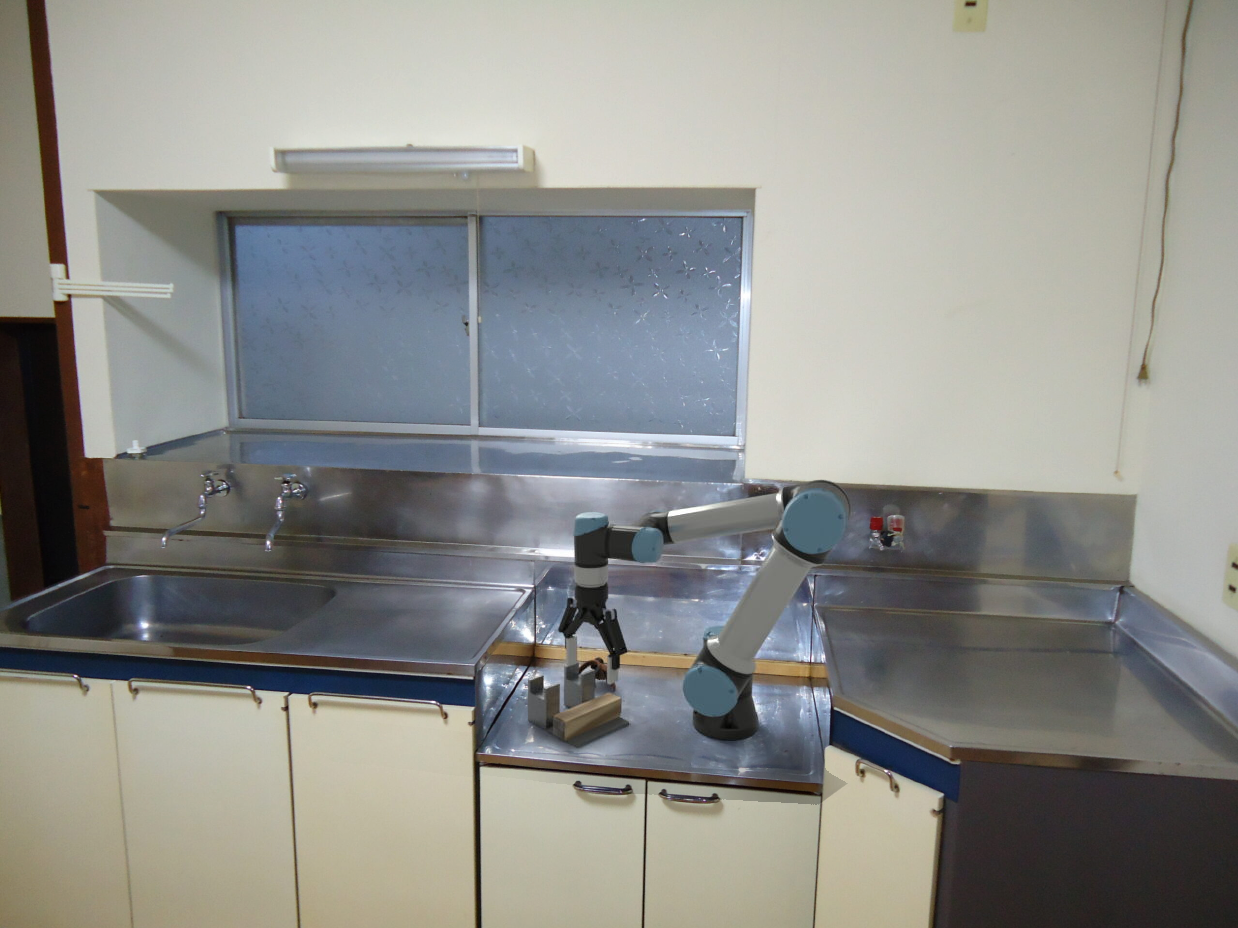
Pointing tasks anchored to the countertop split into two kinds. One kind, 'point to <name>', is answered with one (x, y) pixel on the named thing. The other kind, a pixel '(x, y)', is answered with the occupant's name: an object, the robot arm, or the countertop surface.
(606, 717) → the oak rail
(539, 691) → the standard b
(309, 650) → the countertop surface
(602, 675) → the pottery mug
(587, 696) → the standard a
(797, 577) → the robot arm
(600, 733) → the mat
